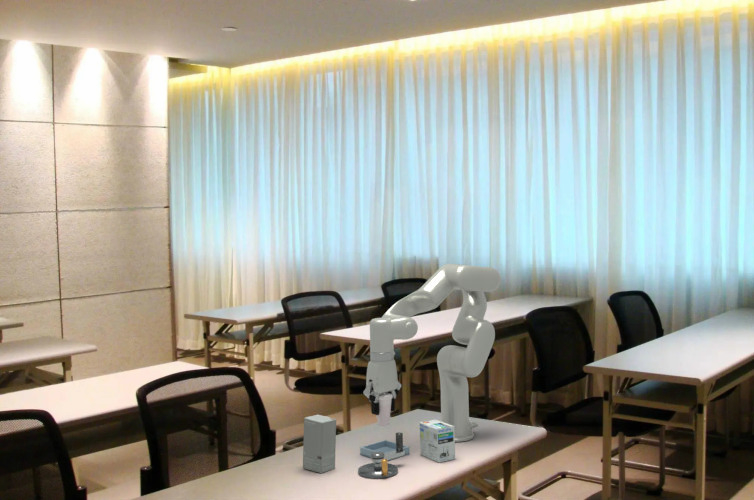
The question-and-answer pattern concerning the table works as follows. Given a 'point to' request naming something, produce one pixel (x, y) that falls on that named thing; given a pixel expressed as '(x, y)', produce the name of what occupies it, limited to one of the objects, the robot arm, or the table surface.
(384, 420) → the smoothie
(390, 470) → the crank base
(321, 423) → the skincare box
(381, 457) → the crank
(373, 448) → the tray
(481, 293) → the robot arm
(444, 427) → the light bulb box
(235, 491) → the table surface
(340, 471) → the table surface
